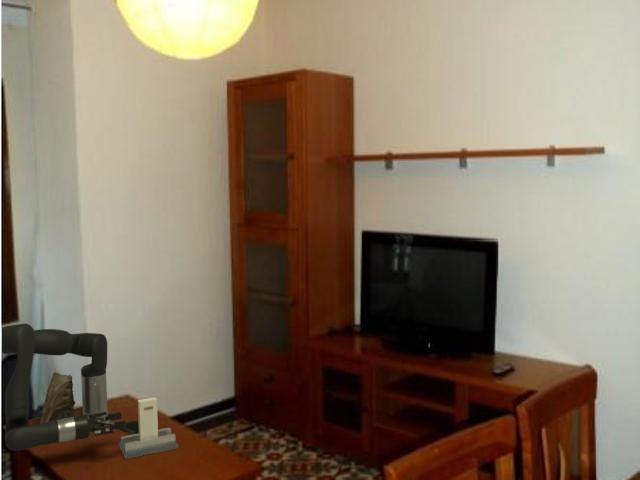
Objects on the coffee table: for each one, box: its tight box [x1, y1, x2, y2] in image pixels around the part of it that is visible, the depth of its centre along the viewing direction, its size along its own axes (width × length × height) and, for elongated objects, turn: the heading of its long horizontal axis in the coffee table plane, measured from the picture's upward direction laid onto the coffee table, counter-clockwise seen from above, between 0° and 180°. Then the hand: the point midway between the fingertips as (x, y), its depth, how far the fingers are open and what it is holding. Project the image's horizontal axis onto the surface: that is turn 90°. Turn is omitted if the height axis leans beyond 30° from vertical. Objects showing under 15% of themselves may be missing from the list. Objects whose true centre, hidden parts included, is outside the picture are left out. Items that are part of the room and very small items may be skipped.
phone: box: [119, 420, 139, 435], centre depth 232 cm, size 8×1×15 cm
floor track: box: [118, 427, 180, 460], centre depth 217 cm, size 12×18×4 cm, turn 118°
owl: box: [39, 372, 76, 424], centre depth 234 cm, size 13×13×20 cm
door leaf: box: [137, 397, 159, 440], centre depth 216 cm, size 3×6×16 cm, turn 119°
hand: (123, 419), depth 212 cm, fingers open, 8 cm apart
